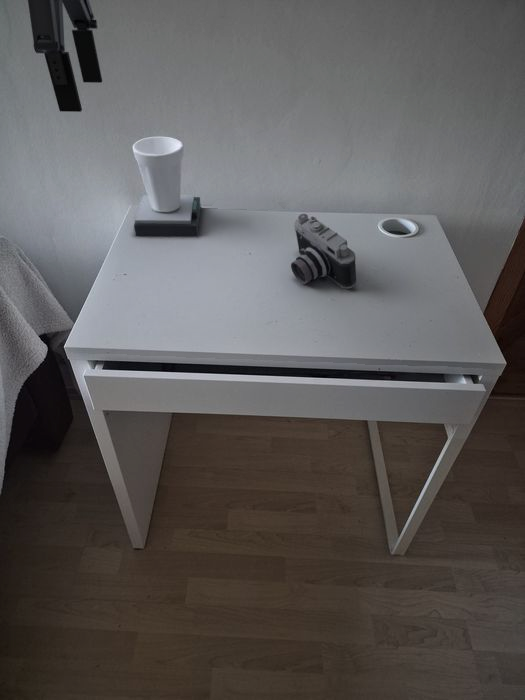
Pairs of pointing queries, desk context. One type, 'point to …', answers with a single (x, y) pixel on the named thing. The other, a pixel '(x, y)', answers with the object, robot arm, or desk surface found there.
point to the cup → (160, 170)
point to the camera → (322, 254)
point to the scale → (168, 218)
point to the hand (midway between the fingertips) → (82, 95)
